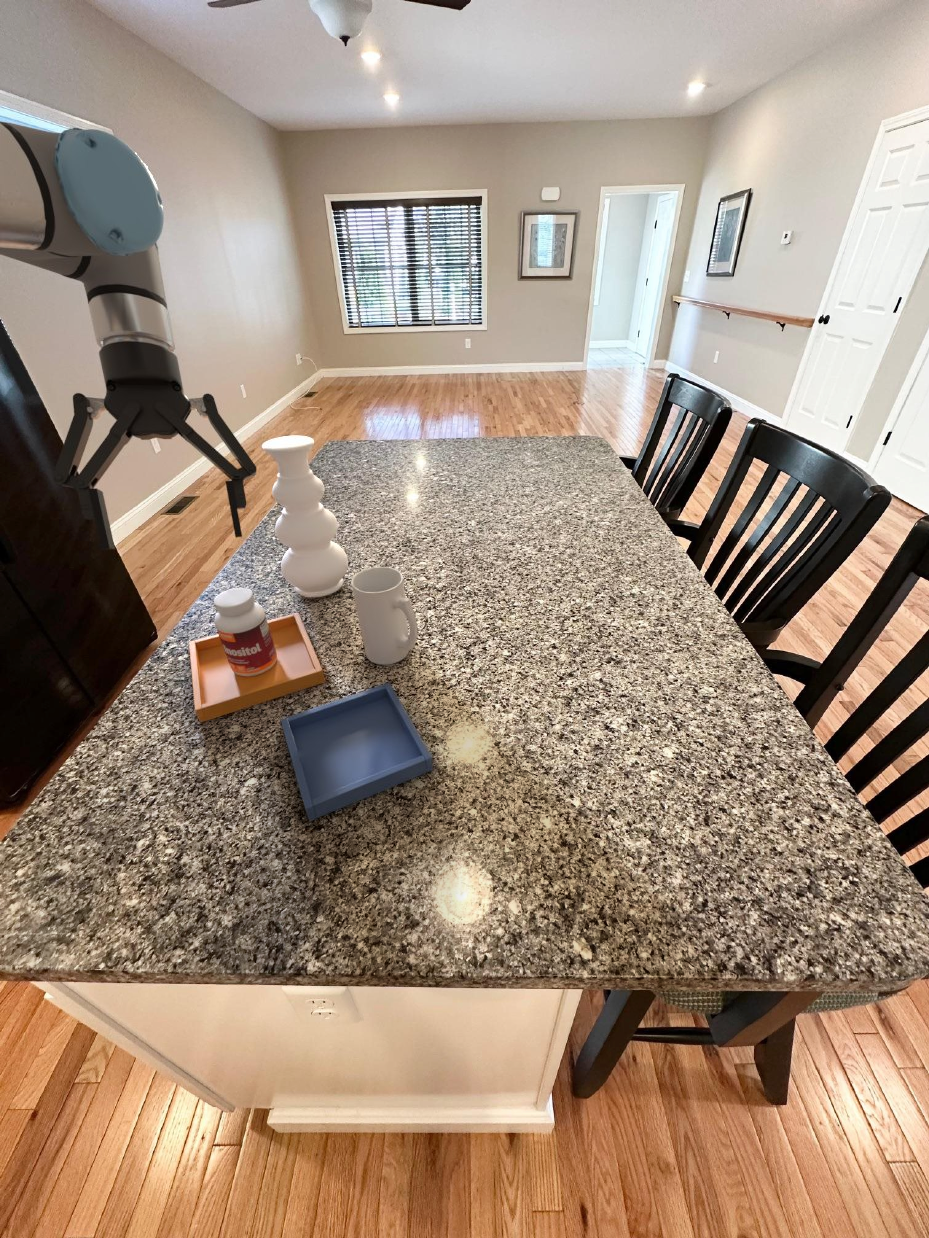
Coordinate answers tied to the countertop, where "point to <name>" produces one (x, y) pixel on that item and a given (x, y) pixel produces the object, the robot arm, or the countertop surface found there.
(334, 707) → the blue tray
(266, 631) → the pill bottle
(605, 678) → the countertop surface
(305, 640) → the amber tray
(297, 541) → the vase
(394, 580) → the mug
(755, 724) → the countertop surface
